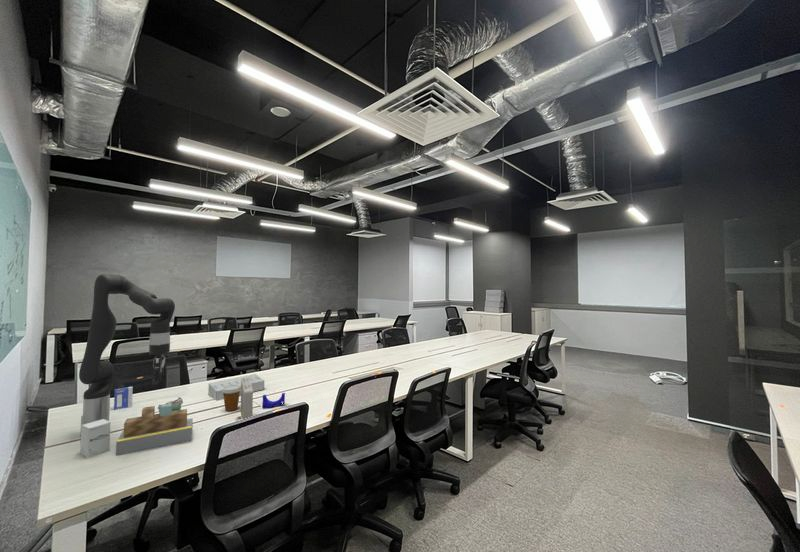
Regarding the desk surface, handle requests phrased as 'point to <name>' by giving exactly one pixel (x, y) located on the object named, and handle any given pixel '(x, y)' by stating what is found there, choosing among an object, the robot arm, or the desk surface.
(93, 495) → the desk surface
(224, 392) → the disposable coffee cup
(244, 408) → the network device
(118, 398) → the walkman
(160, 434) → the block
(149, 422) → the brown stepped block
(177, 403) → the food container
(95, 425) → the supplement box
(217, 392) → the warehouse
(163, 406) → the crate teal
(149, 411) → the crate kraft
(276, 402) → the blue arch block
